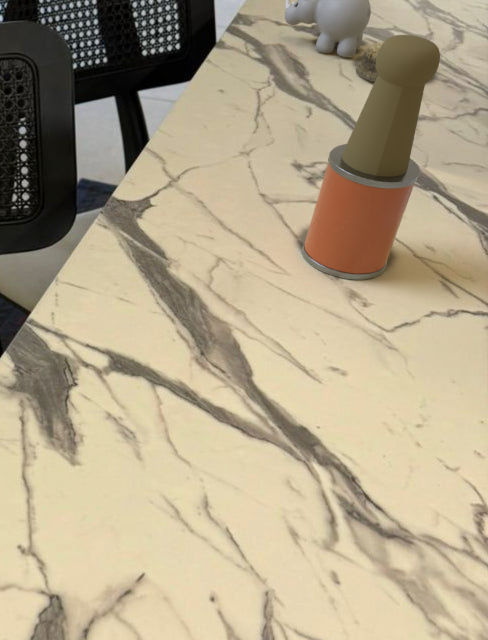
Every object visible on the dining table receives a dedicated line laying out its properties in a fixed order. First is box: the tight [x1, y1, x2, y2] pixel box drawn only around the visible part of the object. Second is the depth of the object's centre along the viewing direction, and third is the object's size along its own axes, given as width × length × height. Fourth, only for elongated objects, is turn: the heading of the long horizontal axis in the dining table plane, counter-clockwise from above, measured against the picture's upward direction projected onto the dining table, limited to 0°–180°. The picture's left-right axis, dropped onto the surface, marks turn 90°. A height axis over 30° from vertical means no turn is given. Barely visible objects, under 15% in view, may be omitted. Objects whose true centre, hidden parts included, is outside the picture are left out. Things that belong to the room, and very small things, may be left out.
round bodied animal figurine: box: [284, 0, 372, 58], centre depth 144 cm, size 7×12×8 cm, turn 62°
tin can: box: [301, 143, 421, 281], centre depth 98 cm, size 8×8×10 cm
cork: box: [342, 34, 441, 177], centre depth 91 cm, size 6×6×11 cm
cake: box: [355, 41, 385, 83], centre depth 138 cm, size 10×10×5 cm
